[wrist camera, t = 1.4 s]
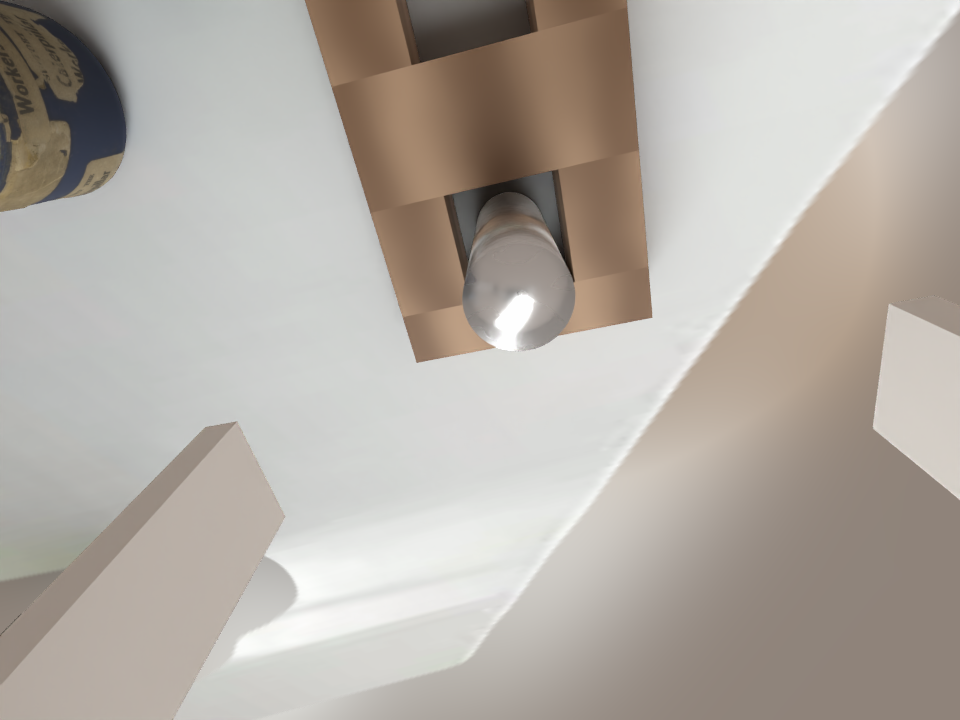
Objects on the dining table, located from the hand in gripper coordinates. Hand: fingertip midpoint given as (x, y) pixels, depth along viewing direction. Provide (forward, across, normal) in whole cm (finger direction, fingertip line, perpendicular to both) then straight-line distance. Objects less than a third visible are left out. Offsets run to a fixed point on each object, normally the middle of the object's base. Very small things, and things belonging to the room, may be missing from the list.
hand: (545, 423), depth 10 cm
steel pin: (+22, 0, 0) cm, 22 cm away
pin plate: (+22, 0, +6) cm, 23 cm away
